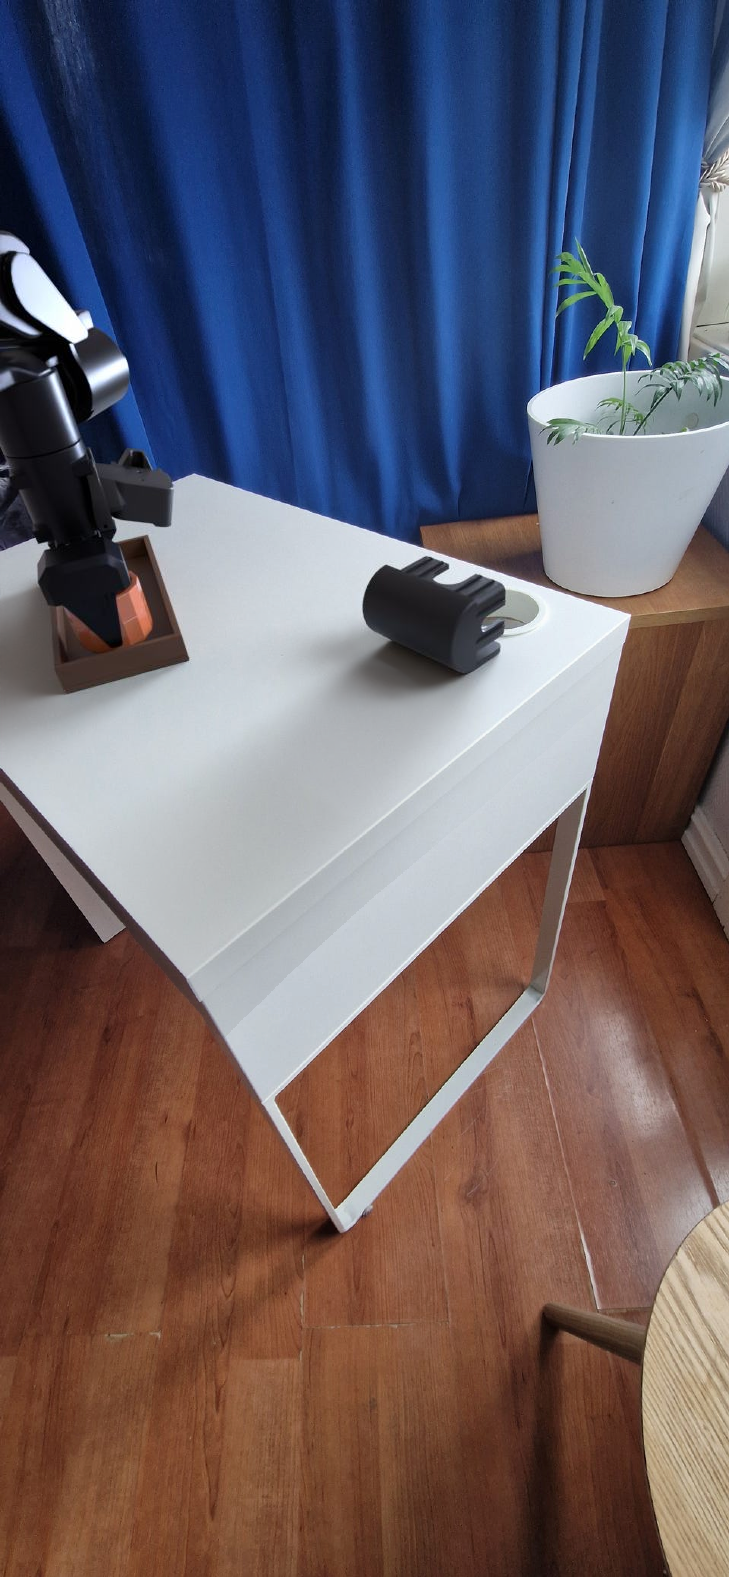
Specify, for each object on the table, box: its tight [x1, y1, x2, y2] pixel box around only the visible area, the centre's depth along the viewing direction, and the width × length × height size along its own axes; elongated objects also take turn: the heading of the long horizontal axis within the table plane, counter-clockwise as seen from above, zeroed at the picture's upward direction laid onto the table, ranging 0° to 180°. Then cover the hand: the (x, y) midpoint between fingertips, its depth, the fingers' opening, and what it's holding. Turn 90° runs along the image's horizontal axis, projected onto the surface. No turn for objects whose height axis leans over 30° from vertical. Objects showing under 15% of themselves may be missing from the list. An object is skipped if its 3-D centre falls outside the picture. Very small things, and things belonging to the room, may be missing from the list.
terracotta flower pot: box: [63, 571, 153, 654], centre depth 63 cm, size 7×7×5 cm
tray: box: [50, 534, 190, 694], centre depth 70 cm, size 24×11×3 cm, turn 20°
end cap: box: [361, 555, 507, 675], centre depth 58 cm, size 10×7×7 cm
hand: (113, 627), depth 64 cm, fingers closed on terracotta flower pot, 7 cm apart
